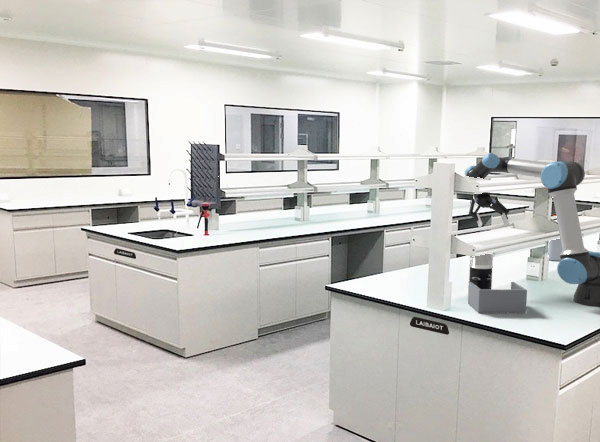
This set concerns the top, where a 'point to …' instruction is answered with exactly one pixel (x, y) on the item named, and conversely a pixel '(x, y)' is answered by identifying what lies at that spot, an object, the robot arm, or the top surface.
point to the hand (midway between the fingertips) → (494, 225)
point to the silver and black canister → (481, 271)
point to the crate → (497, 299)
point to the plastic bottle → (555, 249)
